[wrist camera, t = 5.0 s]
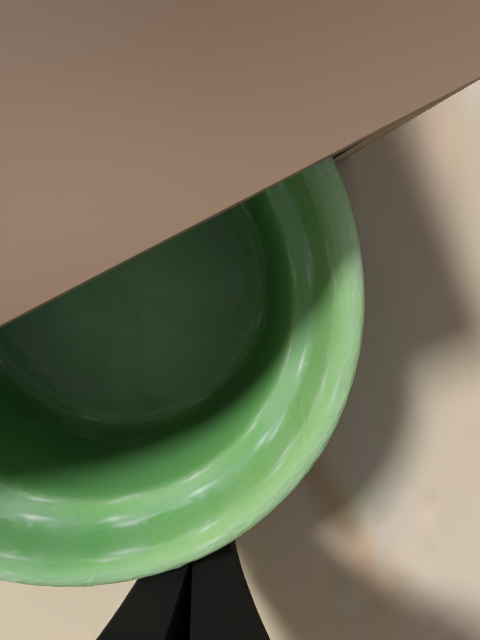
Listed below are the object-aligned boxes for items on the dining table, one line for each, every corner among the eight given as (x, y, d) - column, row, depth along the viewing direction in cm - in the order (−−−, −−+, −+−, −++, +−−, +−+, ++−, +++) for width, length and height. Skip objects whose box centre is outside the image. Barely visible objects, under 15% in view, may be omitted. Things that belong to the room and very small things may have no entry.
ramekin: (384, 200, 10) (498, 182, 6) (204, 505, 12) (187, 670, 7) (18, -14, 9) (-185, -237, 5) (-121, 354, 11) (-363, 444, 6)
